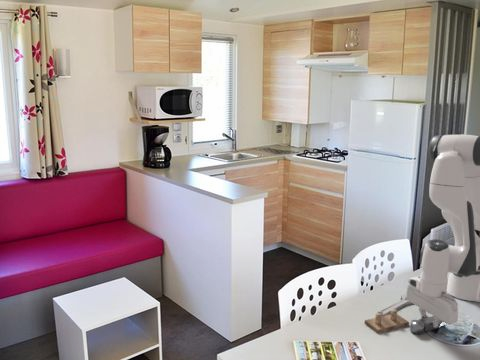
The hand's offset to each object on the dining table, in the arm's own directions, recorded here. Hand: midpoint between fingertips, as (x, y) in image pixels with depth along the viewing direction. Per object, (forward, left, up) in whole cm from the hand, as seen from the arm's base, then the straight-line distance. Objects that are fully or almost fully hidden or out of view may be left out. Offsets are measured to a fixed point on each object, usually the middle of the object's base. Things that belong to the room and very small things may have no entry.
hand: (429, 323), depth 164 cm
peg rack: (+12, -8, -2) cm, 14 cm away
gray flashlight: (+1, 0, -2) cm, 2 cm away
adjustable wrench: (-1, -18, -3) cm, 18 cm away
